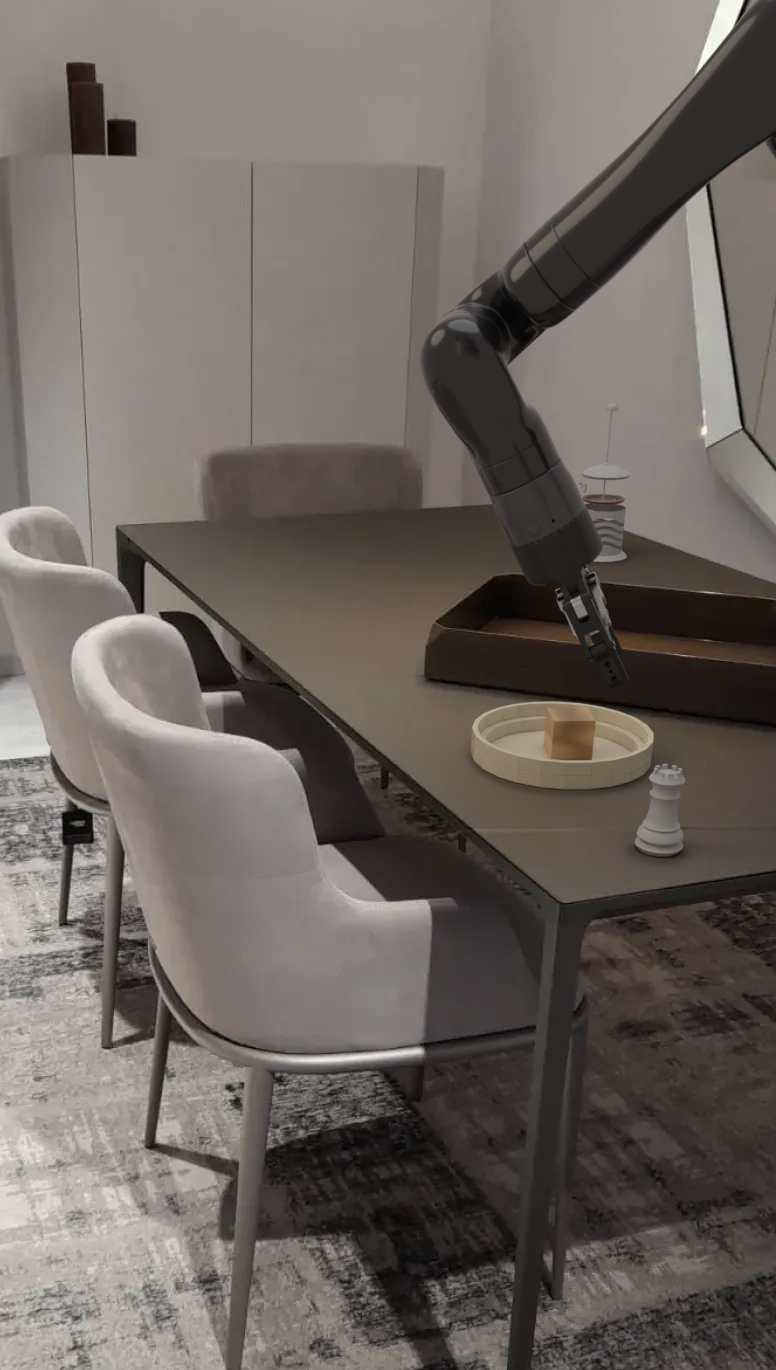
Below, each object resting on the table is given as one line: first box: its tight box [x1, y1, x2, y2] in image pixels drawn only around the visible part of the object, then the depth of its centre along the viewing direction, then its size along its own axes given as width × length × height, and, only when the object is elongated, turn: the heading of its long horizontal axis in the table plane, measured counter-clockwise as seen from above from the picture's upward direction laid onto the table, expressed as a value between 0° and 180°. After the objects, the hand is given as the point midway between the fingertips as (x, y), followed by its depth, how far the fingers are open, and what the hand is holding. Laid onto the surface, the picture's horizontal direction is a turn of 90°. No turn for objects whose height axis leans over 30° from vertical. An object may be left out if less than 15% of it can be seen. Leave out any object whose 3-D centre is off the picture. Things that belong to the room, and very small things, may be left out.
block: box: [544, 707, 596, 760], centre depth 149 cm, size 4×4×4 cm
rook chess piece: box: [634, 763, 686, 858], centre depth 127 cm, size 4×4×8 cm
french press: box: [576, 402, 631, 563], centre depth 231 cm, size 10×12×25 cm
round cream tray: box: [470, 701, 655, 790], centre depth 149 cm, size 19×19×4 cm
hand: (616, 672), depth 130 cm, fingers open, 8 cm apart
